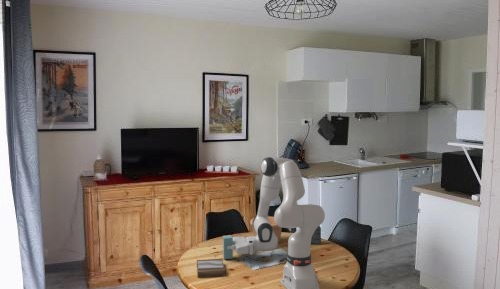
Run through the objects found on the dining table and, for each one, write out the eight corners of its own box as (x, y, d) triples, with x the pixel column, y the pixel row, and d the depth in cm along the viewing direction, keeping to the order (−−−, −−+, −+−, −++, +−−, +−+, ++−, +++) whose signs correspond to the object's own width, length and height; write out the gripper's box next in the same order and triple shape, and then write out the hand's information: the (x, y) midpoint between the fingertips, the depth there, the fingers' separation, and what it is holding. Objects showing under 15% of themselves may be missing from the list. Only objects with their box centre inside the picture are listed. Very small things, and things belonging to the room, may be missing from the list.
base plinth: (224, 275, 209) (224, 269, 209) (197, 277, 207) (197, 271, 207) (222, 263, 225) (222, 258, 225) (196, 265, 223) (196, 259, 223)
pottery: (249, 248, 251) (249, 225, 250) (250, 236, 273) (250, 215, 272) (284, 248, 250) (284, 225, 249) (282, 237, 272) (283, 216, 271)
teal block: (232, 258, 231) (232, 238, 230) (224, 259, 230) (223, 238, 229) (231, 255, 236) (231, 235, 235) (223, 255, 235) (223, 235, 234)
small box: (320, 241, 264) (320, 225, 263) (321, 244, 258) (321, 228, 257) (304, 240, 265) (304, 225, 264) (304, 244, 259) (304, 228, 258)
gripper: (247, 233, 245) (224, 234, 242) (252, 244, 225) (228, 245, 222) (247, 243, 245) (224, 244, 243) (252, 255, 225) (228, 256, 223)
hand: (226, 245), depth 233 cm, fingers closed on teal block, 5 cm apart
